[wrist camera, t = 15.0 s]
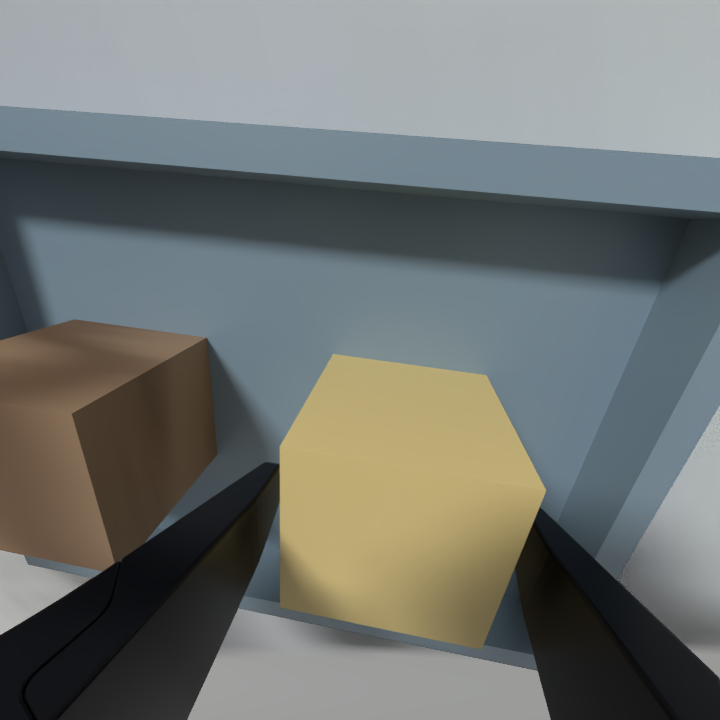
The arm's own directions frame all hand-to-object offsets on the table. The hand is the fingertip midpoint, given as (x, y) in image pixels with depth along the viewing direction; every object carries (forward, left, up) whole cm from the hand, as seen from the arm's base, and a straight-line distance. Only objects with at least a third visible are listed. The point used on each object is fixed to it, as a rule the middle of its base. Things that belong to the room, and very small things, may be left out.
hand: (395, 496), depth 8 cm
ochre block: (0, 0, -3) cm, 3 cm away
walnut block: (-8, 0, -3) cm, 9 cm away
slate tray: (-3, 0, -4) cm, 5 cm away
